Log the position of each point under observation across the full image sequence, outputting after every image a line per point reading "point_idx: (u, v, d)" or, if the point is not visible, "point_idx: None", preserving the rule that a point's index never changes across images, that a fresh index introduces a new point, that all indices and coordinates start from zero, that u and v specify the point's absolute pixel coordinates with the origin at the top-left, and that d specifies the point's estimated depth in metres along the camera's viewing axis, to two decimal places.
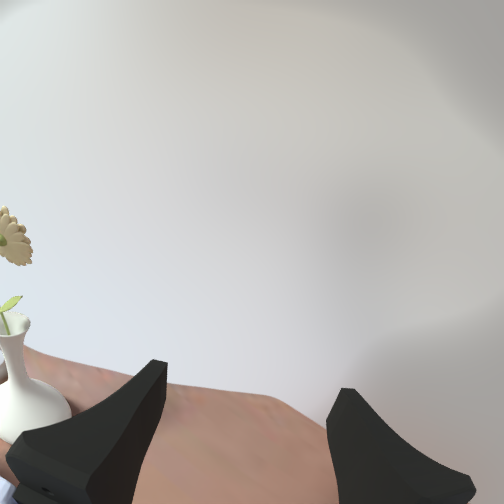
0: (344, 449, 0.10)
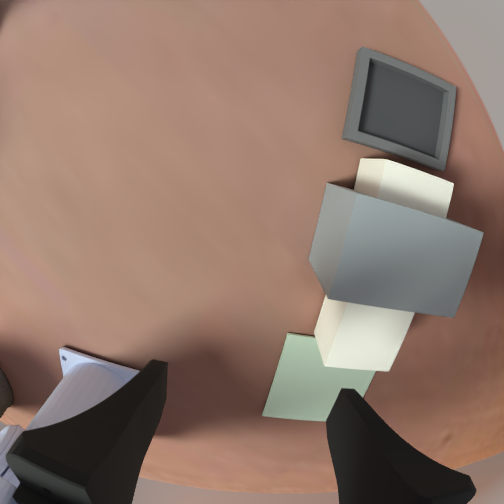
0: (344, 449, 0.10)
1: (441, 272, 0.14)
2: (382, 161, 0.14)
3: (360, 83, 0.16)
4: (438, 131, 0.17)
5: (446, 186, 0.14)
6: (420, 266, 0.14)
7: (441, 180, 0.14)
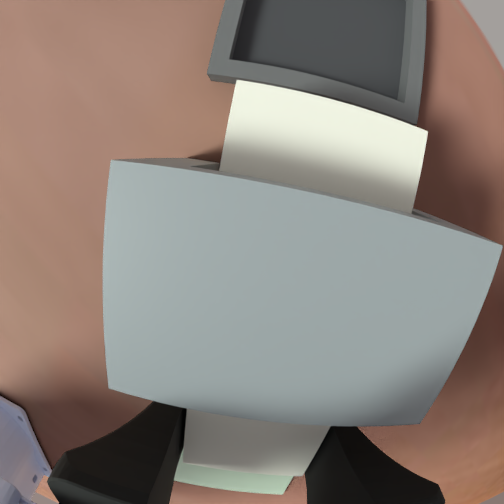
0: None
1: (388, 348, 0.06)
2: None
3: None
4: (402, 57, 0.09)
5: (408, 137, 0.06)
6: (324, 338, 0.06)
7: (394, 122, 0.06)
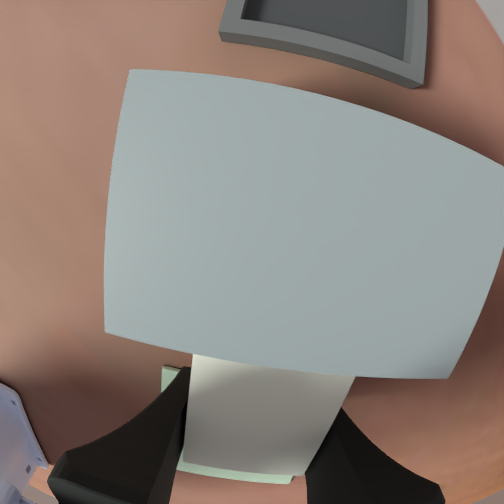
0: None
1: (417, 276, 0.05)
2: None
3: None
4: (406, 25, 0.08)
5: None
6: (350, 259, 0.05)
7: None
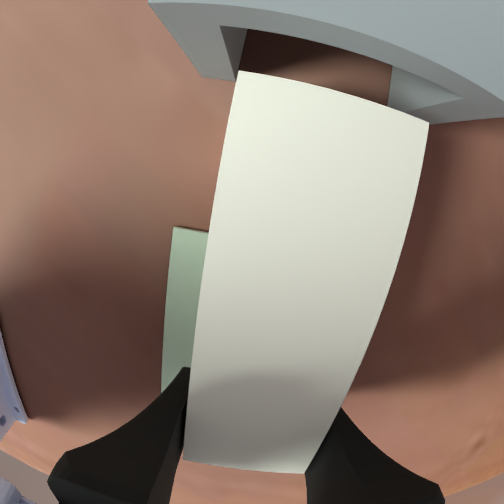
0: None
1: None
2: None
3: None
4: None
5: (410, 128, 0.06)
6: None
7: (396, 113, 0.06)
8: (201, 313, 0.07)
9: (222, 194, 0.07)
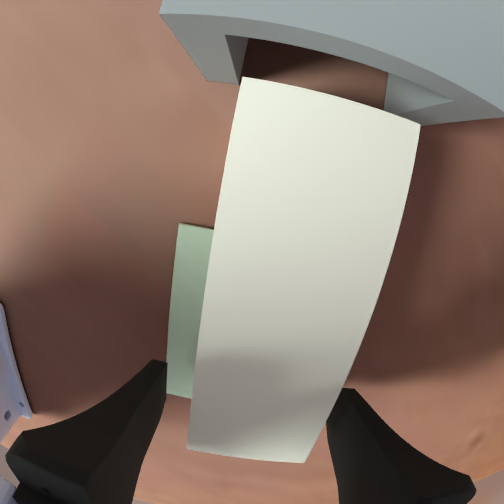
0: (344, 449, 0.10)
1: None
2: None
3: None
4: None
5: (402, 129, 0.07)
6: None
7: (389, 116, 0.07)
8: (206, 303, 0.08)
9: (227, 191, 0.07)
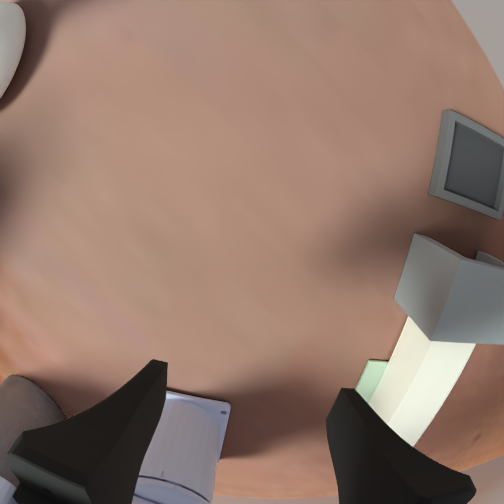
0: (344, 449, 0.10)
1: None
2: None
3: (447, 145, 0.17)
4: (498, 184, 0.18)
5: (471, 345, 0.18)
6: (491, 309, 0.15)
7: None
8: (401, 403, 0.19)
9: (419, 372, 0.18)
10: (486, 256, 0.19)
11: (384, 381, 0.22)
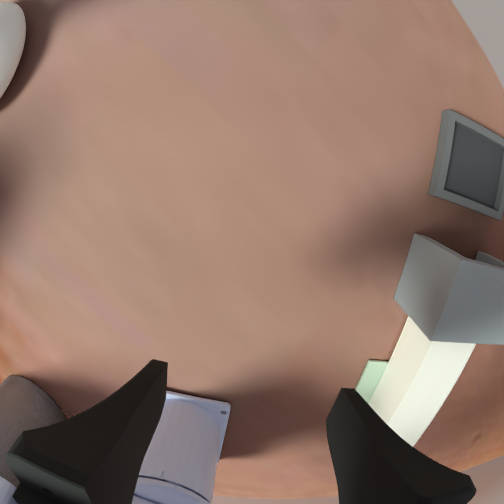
0: (344, 449, 0.10)
1: None
2: None
3: (447, 145, 0.17)
4: (498, 184, 0.18)
5: (471, 345, 0.18)
6: (491, 309, 0.15)
7: None
8: (401, 403, 0.19)
9: (419, 373, 0.18)
10: (486, 256, 0.19)
11: (384, 381, 0.22)
